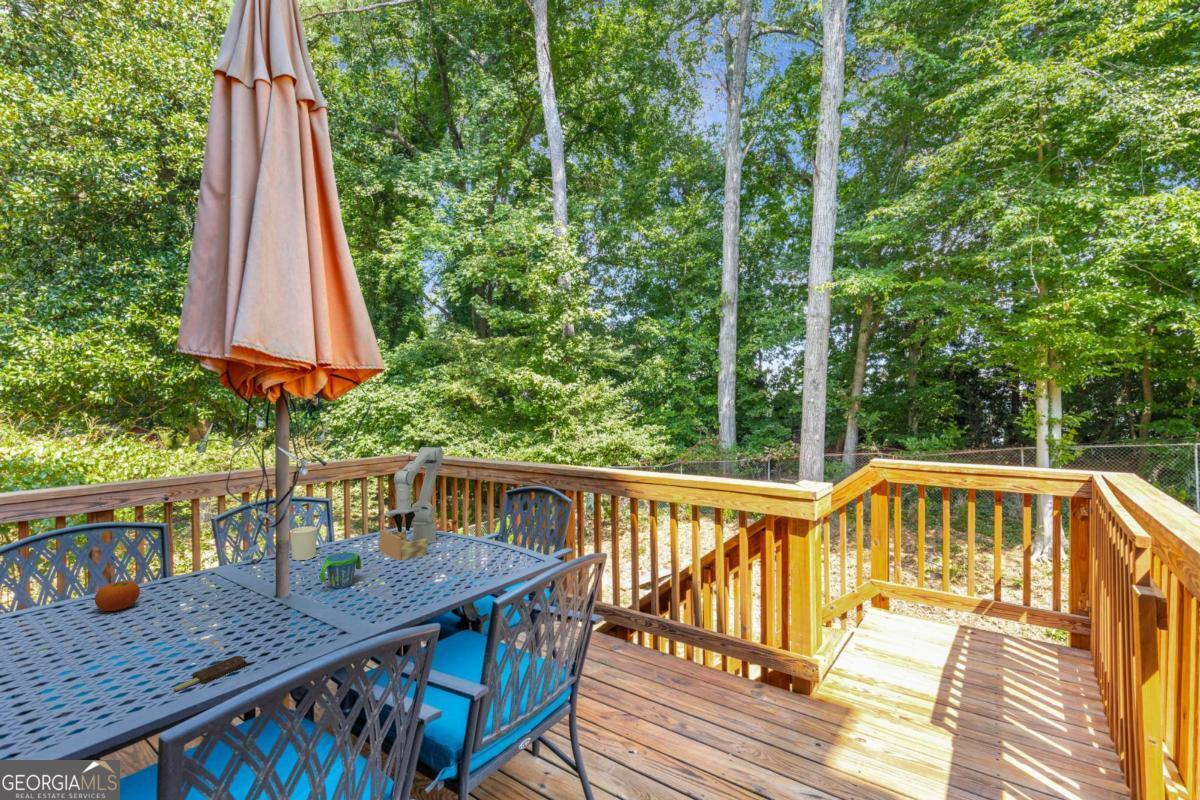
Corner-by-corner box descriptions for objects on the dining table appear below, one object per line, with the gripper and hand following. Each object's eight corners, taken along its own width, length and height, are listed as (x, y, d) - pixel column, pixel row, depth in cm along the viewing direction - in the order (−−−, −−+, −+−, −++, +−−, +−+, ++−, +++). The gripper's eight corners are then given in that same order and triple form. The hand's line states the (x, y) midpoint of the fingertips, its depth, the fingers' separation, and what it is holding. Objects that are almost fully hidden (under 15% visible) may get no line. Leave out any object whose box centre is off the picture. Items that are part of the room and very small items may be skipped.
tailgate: (382, 550, 226) (382, 529, 226) (400, 559, 214) (401, 537, 214) (379, 550, 225) (379, 530, 225) (398, 560, 213) (398, 538, 213)
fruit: (94, 608, 164) (94, 583, 164) (138, 599, 172) (138, 575, 172) (95, 618, 157) (95, 592, 157) (141, 609, 164) (141, 583, 164)
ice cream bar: (179, 696, 118) (250, 666, 131) (179, 689, 118) (250, 659, 131) (168, 690, 120) (238, 660, 134) (168, 682, 120) (238, 654, 134)
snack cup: (329, 595, 177) (329, 565, 176) (311, 589, 182) (311, 560, 182) (370, 581, 190) (370, 553, 190) (351, 576, 195) (352, 548, 195)
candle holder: (314, 553, 222) (314, 525, 222) (319, 559, 215) (319, 529, 215) (287, 557, 216) (288, 528, 216) (292, 563, 208) (292, 533, 208)
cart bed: (404, 545, 235) (405, 529, 235) (427, 555, 220) (427, 539, 220) (381, 550, 228) (381, 534, 228) (403, 561, 213) (403, 543, 213)
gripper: (391, 502, 216) (391, 535, 216) (424, 498, 226) (424, 529, 226) (383, 500, 221) (383, 532, 221) (416, 495, 231) (416, 526, 231)
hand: (403, 531), depth 224 cm, fingers open, 3 cm apart
